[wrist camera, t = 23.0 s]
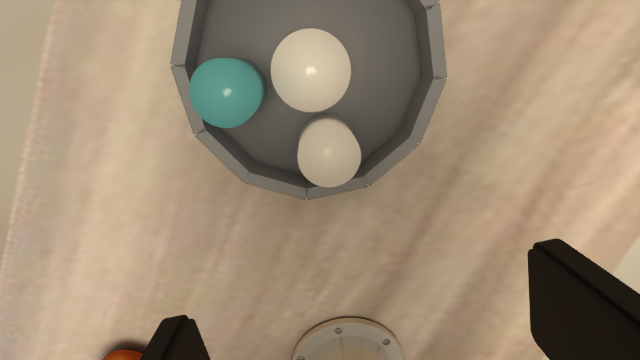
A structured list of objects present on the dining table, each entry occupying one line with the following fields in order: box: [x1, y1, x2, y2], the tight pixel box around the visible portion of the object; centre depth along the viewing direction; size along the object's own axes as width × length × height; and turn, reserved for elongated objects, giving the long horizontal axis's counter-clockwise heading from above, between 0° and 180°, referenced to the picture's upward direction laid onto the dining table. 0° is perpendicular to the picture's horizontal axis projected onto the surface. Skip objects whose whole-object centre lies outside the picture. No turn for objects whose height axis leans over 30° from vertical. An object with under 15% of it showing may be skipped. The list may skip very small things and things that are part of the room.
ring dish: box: [170, 0, 447, 200], centre depth 29 cm, size 21×21×4 cm
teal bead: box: [189, 58, 268, 128], centre depth 27 cm, size 5×5×6 cm
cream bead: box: [297, 113, 361, 187], centre depth 29 cm, size 5×5×6 cm
